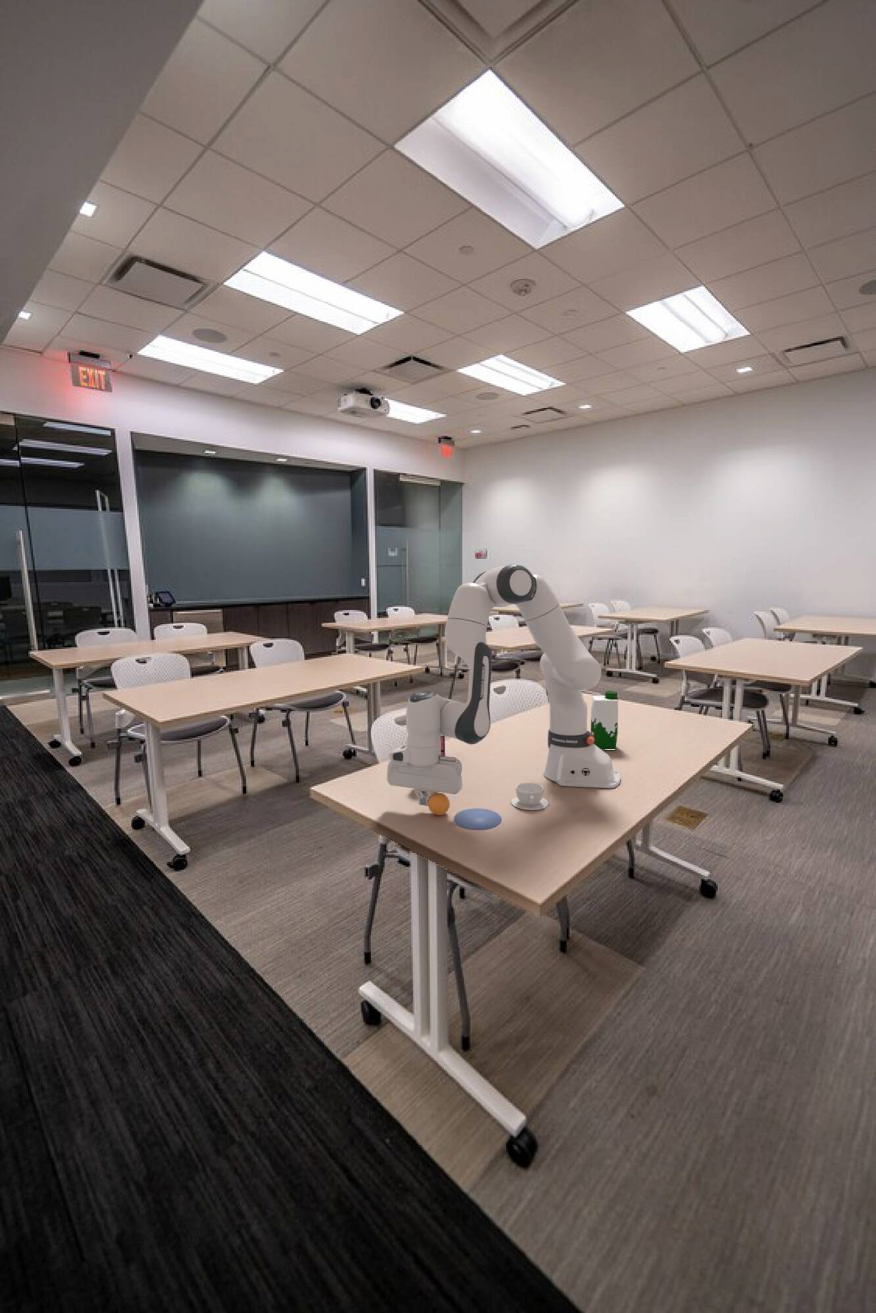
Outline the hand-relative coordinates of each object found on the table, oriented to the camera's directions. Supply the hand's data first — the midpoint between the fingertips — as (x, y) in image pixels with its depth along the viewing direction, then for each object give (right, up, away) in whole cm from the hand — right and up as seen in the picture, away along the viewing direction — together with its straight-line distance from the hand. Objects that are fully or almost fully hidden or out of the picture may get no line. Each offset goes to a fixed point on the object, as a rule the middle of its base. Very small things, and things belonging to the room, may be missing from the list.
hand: (424, 804), depth 143 cm
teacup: (+28, -1, +4) cm, 29 cm away
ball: (+4, +1, -2) cm, 4 cm away
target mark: (+14, -2, -5) cm, 15 cm away
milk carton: (+62, +6, +50) cm, 81 cm away
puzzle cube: (+1, +4, +41) cm, 41 cm away
